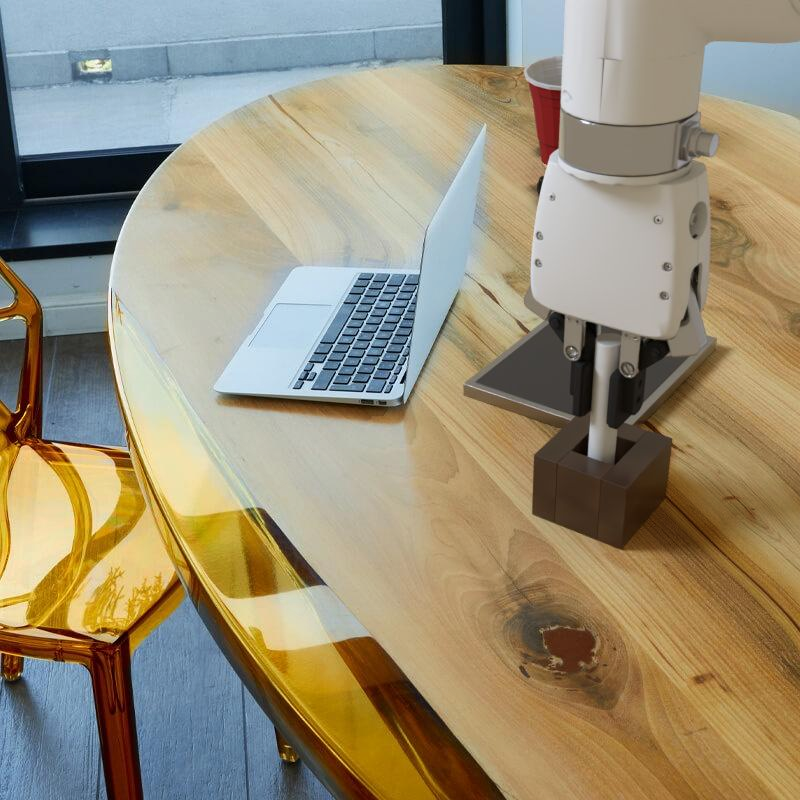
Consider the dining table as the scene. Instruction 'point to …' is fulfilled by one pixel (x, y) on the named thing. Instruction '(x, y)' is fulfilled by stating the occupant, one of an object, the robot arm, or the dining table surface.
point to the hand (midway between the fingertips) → (604, 411)
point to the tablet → (565, 378)
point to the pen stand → (601, 481)
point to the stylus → (603, 398)
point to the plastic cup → (546, 101)
